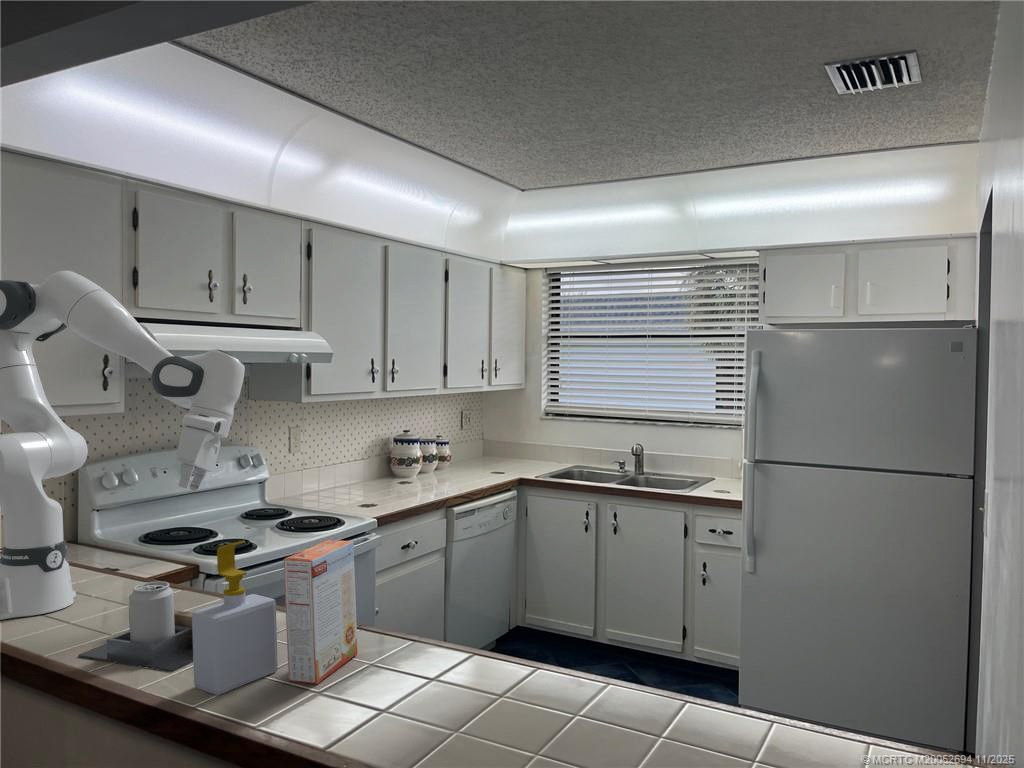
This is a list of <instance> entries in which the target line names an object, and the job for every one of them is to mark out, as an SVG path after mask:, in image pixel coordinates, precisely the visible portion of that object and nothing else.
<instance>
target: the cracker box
mask: <svg viewBox="0 0 1024 768" xmlns="http://www.w3.org/2000/svg"><path fill="white" fill-rule="evenodd" d="M354 548H355V546H354V541H352V540H337V539H328V540H325V541H322V542H320V543H317V544H315V545H313V546H310V547H307V548H306V549H304V550H301V551H299V552H297V553H294V554H293V555H289V556H288V557H285V558H284V559H283V576H284V596H285V597H284V599H285V600H284V602H285V619H286V620H285V621H286V623H285V625H286V626H285V627H286V646H287V648H286V649H287V665H288V666H287V671H288V672H287V673H288V674H287V675H288V682H292V683H293V682H295V683H303V684H314V685H318V684H320V683H321V682H322V681H324V680H325V679H326V678H327V677H329V676H330V675H332V674H333V673H334V672H335V671H337V670H338V669H340V668H341V667H342V666H343V665H345V664H347V662H348V661H350V660H351V659H352V658H354V657H355V656H356V655H358V627H357V604H356V577H355V574H356V572H355V552H354V551H355V550H354Z"/></svg>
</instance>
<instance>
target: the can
mask: <svg viewBox="0 0 1024 768" xmlns="http://www.w3.org/2000/svg"><path fill="white" fill-rule="evenodd" d="M174 592H175V591H174V590H173V589H172V588H171V587H170V583H169V582H168V581H150V582H142V583H139V584H137V585H135V586H133V588H132V592H131V594H130V595H129V596H128V602H129V603H128V604H129V605H128V606H129V608H128V612H129V611H130V624H129V631H130V641H133V642H139V643H146V644H153V643H156V642H158V641H160V640H163V639H165V638H167V637H170V636H172V635H174V634H175V625H174V610H175V599H174V598H175V596H174Z"/></svg>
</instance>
